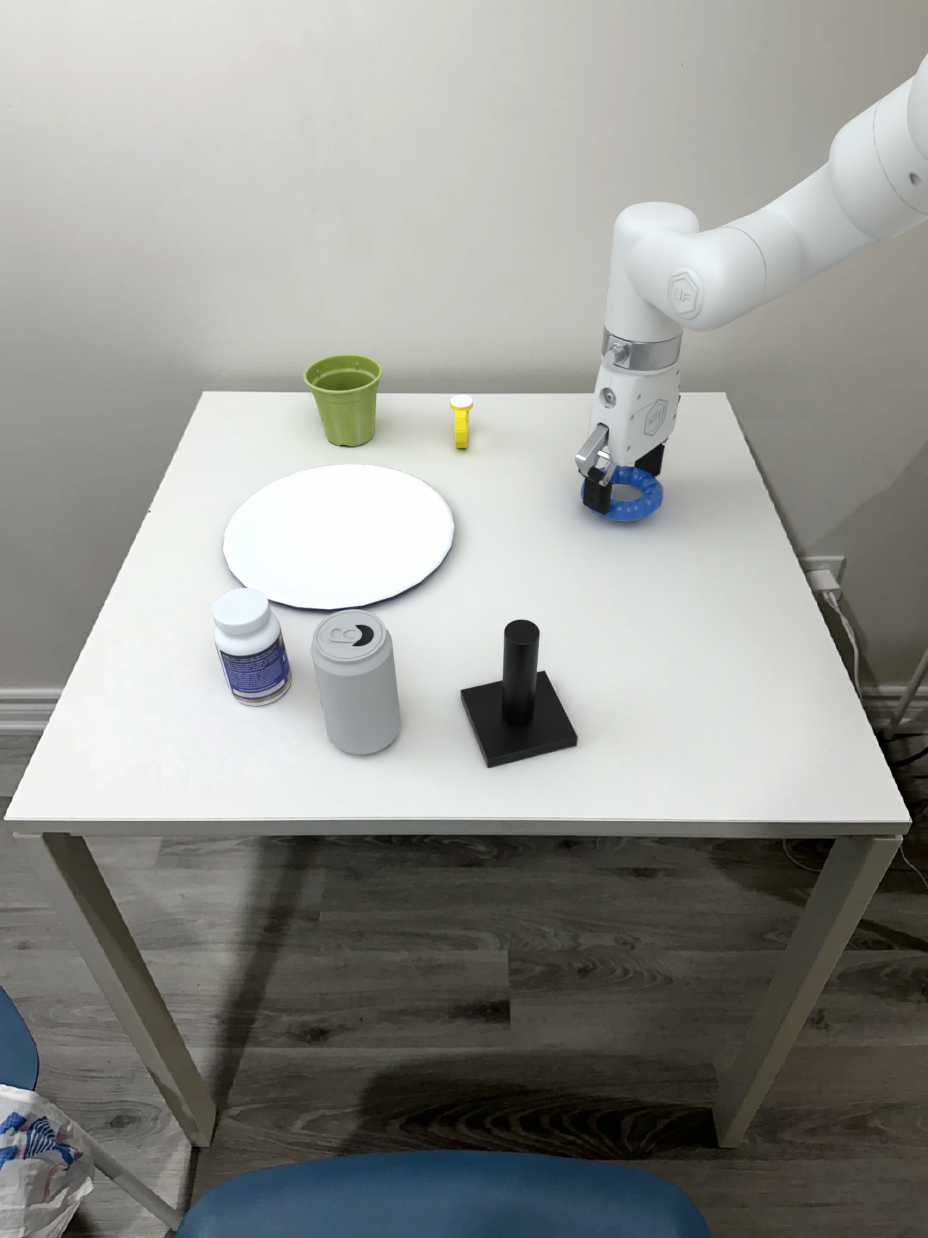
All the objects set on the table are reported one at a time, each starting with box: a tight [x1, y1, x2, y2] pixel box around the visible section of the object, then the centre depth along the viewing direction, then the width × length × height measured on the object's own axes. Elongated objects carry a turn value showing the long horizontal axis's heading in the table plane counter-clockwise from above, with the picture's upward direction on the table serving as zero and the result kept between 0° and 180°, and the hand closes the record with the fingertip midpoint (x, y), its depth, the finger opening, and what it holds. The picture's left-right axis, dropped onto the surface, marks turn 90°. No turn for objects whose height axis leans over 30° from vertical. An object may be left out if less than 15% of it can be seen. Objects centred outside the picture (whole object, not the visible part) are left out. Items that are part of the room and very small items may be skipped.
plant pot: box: [302, 353, 383, 447], centre depth 105 cm, size 9×9×9 cm
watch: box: [449, 394, 474, 449], centre depth 104 cm, size 6×3×6 cm, turn 177°
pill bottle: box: [211, 587, 292, 707], centre depth 74 cm, size 6×6×10 cm
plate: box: [222, 463, 456, 611], centre depth 93 cm, size 25×25×1 cm
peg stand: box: [460, 618, 579, 769], centre depth 70 cm, size 8×8×11 cm
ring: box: [580, 464, 665, 523], centre depth 95 cm, size 9×9×2 cm
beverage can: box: [310, 608, 402, 756], centre depth 70 cm, size 6×6×12 cm
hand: (621, 489), depth 94 cm, fingers closed on ring, 9 cm apart
